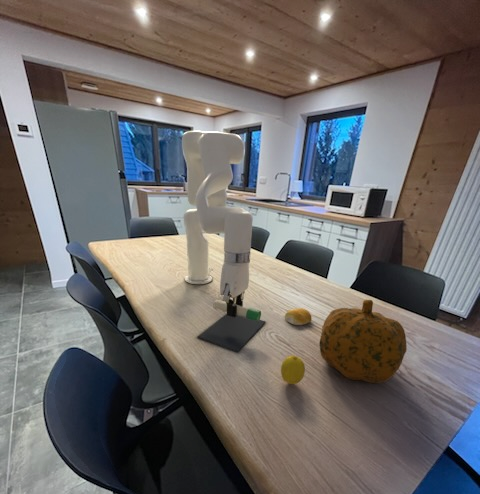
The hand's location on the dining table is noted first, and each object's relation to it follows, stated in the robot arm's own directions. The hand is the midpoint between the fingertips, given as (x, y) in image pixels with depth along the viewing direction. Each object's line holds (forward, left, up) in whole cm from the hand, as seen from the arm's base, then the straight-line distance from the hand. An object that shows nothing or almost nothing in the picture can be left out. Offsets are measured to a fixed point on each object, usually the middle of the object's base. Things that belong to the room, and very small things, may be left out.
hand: (234, 313), depth 83 cm
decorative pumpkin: (-1, +37, -6) cm, 37 cm away
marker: (0, +1, 0) cm, 1 cm away
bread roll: (-18, +16, -6) cm, 25 cm away
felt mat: (0, 0, -6) cm, 6 cm away
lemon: (+14, +24, -6) cm, 28 cm away
